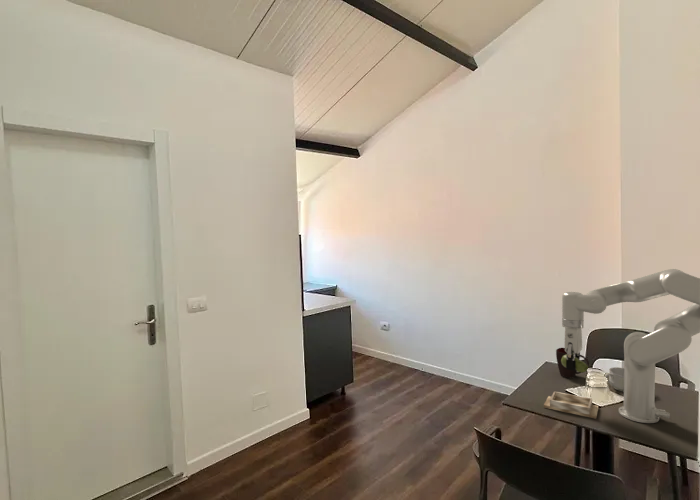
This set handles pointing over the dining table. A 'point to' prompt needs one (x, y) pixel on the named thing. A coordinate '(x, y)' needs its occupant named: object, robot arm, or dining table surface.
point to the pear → (579, 364)
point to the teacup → (616, 378)
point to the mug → (563, 371)
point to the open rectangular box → (572, 404)
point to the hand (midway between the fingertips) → (572, 366)
